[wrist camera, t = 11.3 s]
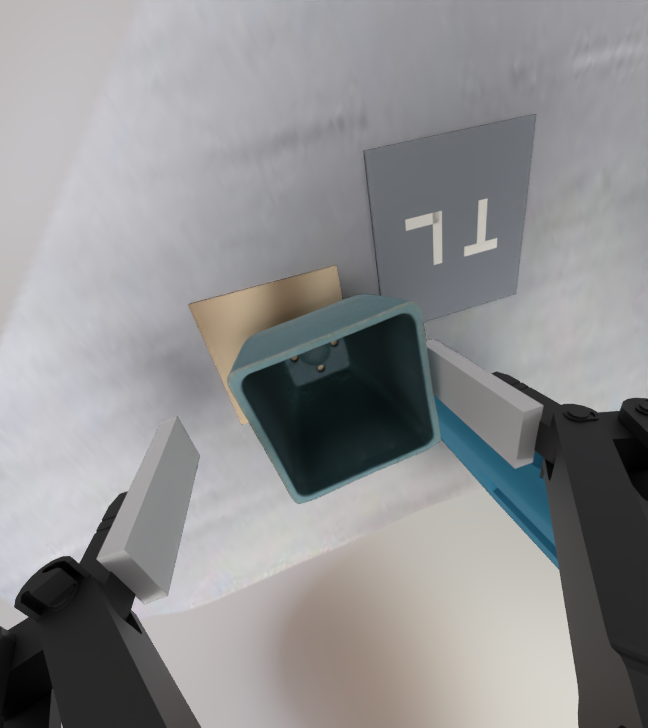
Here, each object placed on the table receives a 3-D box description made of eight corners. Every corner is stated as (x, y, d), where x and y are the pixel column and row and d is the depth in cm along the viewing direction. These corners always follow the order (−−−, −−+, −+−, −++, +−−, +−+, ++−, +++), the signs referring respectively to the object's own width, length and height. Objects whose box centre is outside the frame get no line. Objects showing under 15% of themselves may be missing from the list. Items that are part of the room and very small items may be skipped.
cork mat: (335, 265, 20) (336, 265, 19) (357, 385, 24) (358, 386, 24) (189, 303, 18) (188, 305, 18) (241, 422, 23) (241, 424, 23)
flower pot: (230, 316, 19) (220, 378, 11) (351, 270, 20) (422, 297, 12) (279, 414, 23) (297, 509, 15) (377, 373, 24) (442, 444, 16)
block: (405, 383, 25) (760, 725, 8) (450, 349, 25) (927, 627, 8) (451, 454, 31) (715, 742, 14) (488, 427, 31) (810, 687, 13)
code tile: (533, 115, 19) (536, 113, 18) (514, 293, 24) (516, 293, 24) (363, 151, 17) (365, 150, 17) (384, 332, 23) (385, 333, 23)
